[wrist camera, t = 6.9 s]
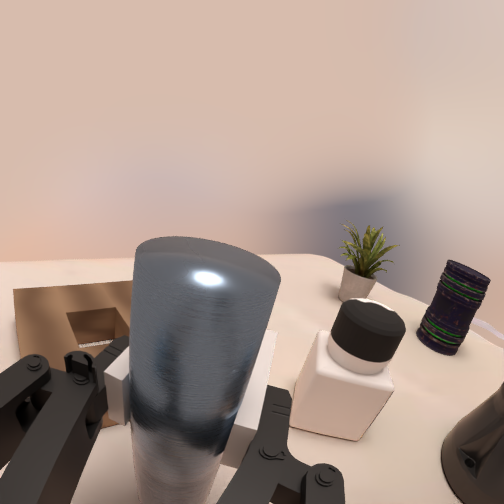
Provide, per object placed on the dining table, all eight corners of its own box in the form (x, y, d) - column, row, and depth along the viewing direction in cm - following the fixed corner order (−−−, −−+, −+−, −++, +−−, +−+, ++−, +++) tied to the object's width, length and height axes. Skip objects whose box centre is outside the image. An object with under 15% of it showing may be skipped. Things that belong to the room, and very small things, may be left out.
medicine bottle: (358, 442, 22) (425, 340, 19) (287, 427, 23) (340, 315, 20) (355, 397, 29) (403, 303, 25) (295, 381, 30) (336, 282, 26)
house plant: (318, 277, 66) (340, 207, 62) (373, 295, 64) (398, 227, 59) (313, 299, 53) (342, 213, 48) (382, 321, 50) (415, 238, 46)
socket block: (137, 307, 35) (140, 279, 34) (212, 392, 25) (220, 361, 24) (17, 321, 24) (13, 289, 23) (44, 440, 14) (31, 407, 13)
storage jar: (453, 340, 49) (484, 273, 44) (460, 361, 40) (497, 285, 36) (415, 324, 53) (443, 256, 49) (415, 343, 44) (451, 264, 40)
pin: (179, 461, 15) (221, 236, 11) (218, 504, 12) (308, 284, 8) (125, 481, 12) (115, 237, 8) (163, 532, 10) (186, 309, 5)
